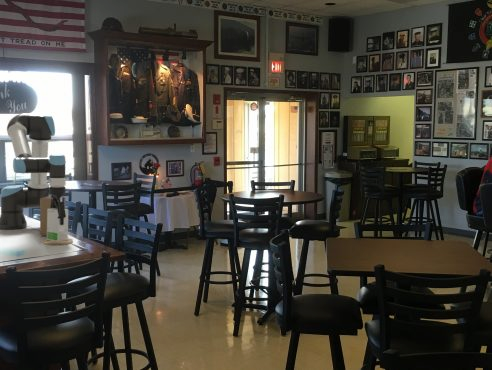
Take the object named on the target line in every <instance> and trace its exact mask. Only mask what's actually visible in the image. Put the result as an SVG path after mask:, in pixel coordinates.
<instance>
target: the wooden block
mask: <svg viewBox="0 0 492 370" xmlns="http://www.w3.org/2000/svg"><path fill="white" fill-rule="evenodd" d="M63 197H64V207H65V208H66V196H63ZM50 205H51V196H48V197H44V198H41V199H40V208H39V216H40V217H39V221H40V223H39V228H40V229H39V231H40V233H39V234H40V236H41V237H47V209H50Z"/></svg>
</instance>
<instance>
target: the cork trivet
mask: <svg viewBox="0 0 492 370" xmlns="http://www.w3.org/2000/svg"><path fill="white" fill-rule="evenodd" d="M73 241H74V239H73V238H69V237H68V240H66V241H61V242H56V241H50V240H47V238H45V239H43V240H42V244H43V245H47V246H64V244H65V245H69V243H70V244H72V243H73Z"/></svg>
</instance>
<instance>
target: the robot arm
mask: <svg viewBox="0 0 492 370" xmlns="http://www.w3.org/2000/svg"><path fill="white" fill-rule="evenodd" d="M6 133H7V136H8V137H9V138H10V139H11V140H10V141H11V144H12V147H13V151H14V155H15V158H13V160H12V168H13V169H12V170H13V172H14V173H15V174H30V181H29V182H28V183H27V187H24V185H23V184H20V185H19V184H18V185H10V186H5V187H2V188H1V190H0V230H21V229H25V228H27V227H28V223H27V219H26V216H25V214H24V209H38V208H39V209H40V199H41V198H44V197H48V196H51V205H50V209H51V208H57V211H58V215H59V217H58V232H64V218H65V217H66V214H65V209H66V206H65V207H64V197H65V196H64V195H66V184H67V183H66V180H67V179H66V162H67V161H66V156H65V155H64V154H50V155H49V142H50V141H52V137H54V136H55V134H56V127H55V122H54V119H53V116H52V115H50V114H44V113H19V114H17V115H14V116H13V117H12V118H11V119H9V121H8V124H7V126H6ZM27 136H28V138H29V140H30V141H31V148H30V145H29V141H28V138H27ZM48 156H49V157H48ZM48 175H49V177H48V178H49V179H48V178H47V176H48ZM47 179H48V181H47ZM48 182H49V183H48ZM62 195H63V196H62Z"/></svg>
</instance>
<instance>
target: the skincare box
mask: <svg viewBox="0 0 492 370" xmlns="http://www.w3.org/2000/svg"><path fill="white" fill-rule="evenodd" d="M65 214H66V217H65V218H64V232H58V217H59V215H58V211H57V208H51V209H47V236H46V239H47V240H50V241H56V242H61V241H66V240H68V238H69V237H68V236H69V232H68V231H69V209H68V208H65Z"/></svg>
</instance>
